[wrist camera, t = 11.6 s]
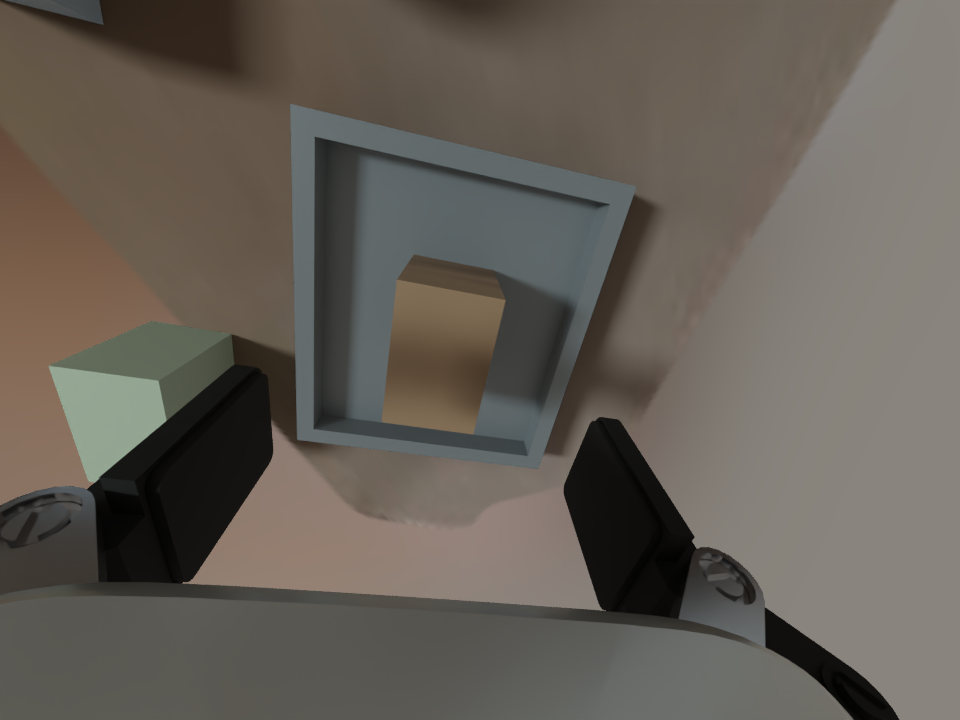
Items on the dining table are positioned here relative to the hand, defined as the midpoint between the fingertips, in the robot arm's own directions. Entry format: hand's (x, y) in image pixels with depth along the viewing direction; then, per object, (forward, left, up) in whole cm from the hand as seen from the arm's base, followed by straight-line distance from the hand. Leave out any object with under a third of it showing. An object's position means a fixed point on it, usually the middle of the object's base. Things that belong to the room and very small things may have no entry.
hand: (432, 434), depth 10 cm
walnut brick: (+1, 0, -12) cm, 12 cm away
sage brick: (+8, -15, -13) cm, 21 cm away
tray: (+1, 0, -13) cm, 13 cm away
